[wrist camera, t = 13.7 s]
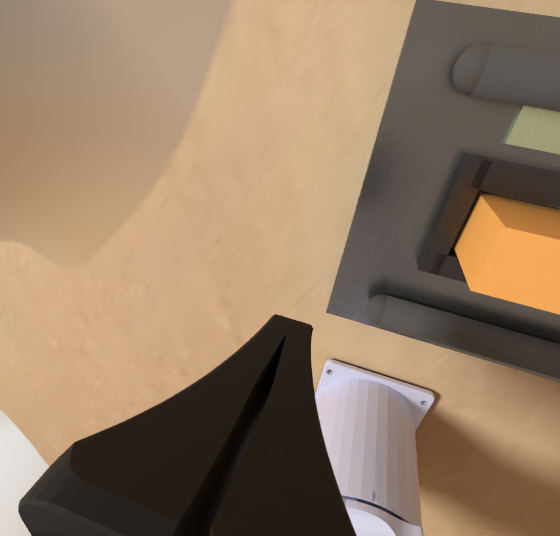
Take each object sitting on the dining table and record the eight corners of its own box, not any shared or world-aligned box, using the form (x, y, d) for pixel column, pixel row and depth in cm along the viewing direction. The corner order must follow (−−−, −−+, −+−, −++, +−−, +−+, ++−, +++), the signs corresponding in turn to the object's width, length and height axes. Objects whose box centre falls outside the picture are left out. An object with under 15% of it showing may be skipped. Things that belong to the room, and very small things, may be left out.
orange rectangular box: (527, 262, 16) (568, 316, 13) (452, 243, 17) (470, 290, 13) (561, 210, 15) (618, 254, 11) (477, 191, 16) (505, 227, 12)
